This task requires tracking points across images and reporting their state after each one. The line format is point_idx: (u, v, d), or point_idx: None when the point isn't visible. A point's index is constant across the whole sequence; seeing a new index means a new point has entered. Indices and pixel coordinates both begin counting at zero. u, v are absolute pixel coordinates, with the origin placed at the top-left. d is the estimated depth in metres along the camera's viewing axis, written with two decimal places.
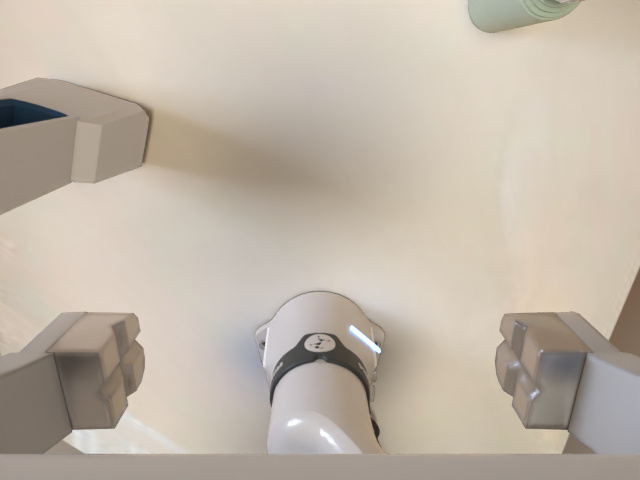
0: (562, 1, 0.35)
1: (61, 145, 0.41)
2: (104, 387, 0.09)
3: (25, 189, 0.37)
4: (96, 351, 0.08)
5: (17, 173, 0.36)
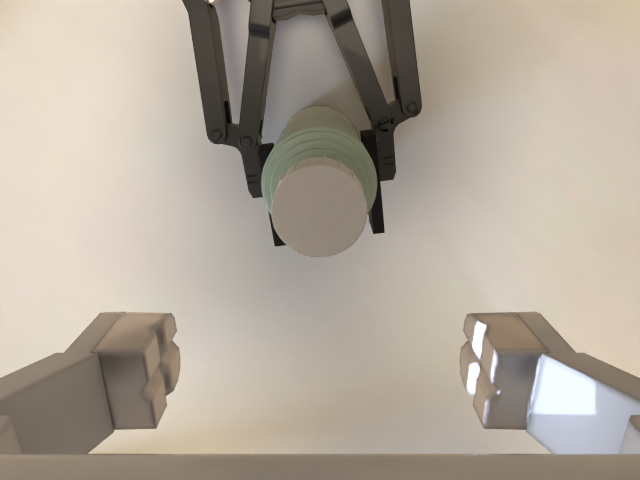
0: None
1: None
2: (146, 387, 0.09)
3: None
4: (141, 351, 0.08)
5: None
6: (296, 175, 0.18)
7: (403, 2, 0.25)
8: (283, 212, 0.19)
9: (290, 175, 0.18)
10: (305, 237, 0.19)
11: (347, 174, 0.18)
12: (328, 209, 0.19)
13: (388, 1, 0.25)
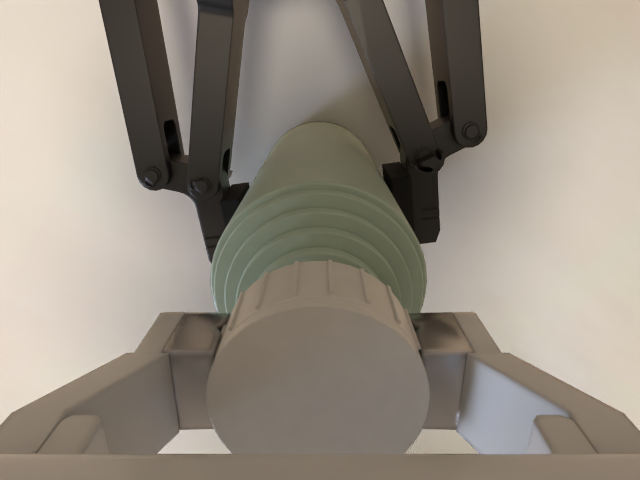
0: None
1: None
2: None
3: None
4: (211, 351, 0.08)
5: None
6: (263, 326, 0.07)
7: None
8: (234, 403, 0.08)
9: (248, 327, 0.08)
10: (287, 450, 0.08)
11: (385, 323, 0.08)
12: (339, 397, 0.08)
13: None
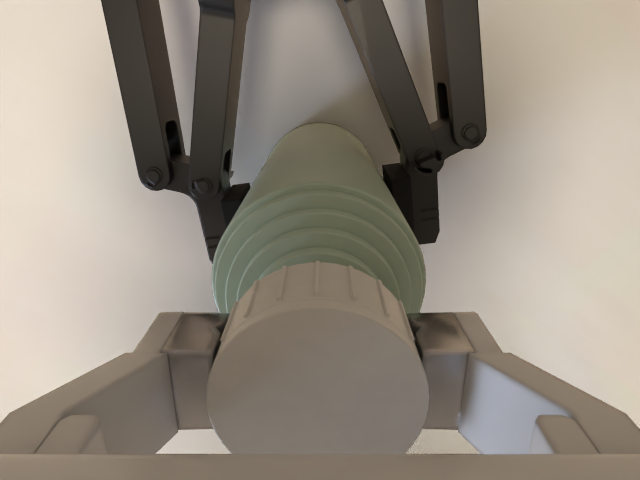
0: None
1: None
2: None
3: None
4: (209, 351, 0.08)
5: None
6: (225, 435, 0.08)
7: None
8: None
9: (226, 445, 0.08)
10: (372, 436, 0.08)
11: (231, 339, 0.08)
12: (311, 388, 0.08)
13: None
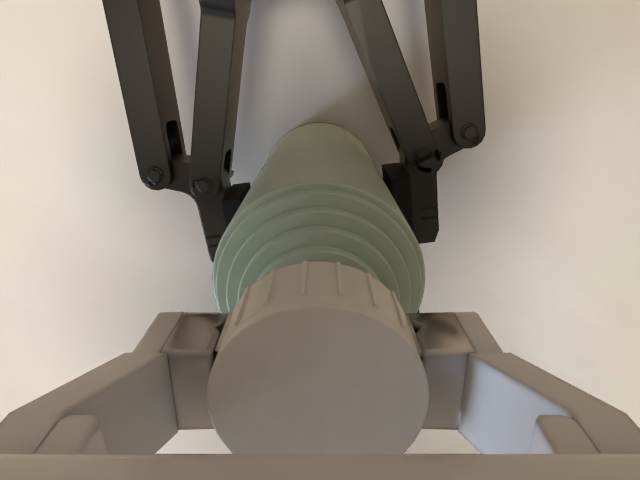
0: (308, 272, 0.09)
1: None
2: None
3: None
4: (209, 351, 0.08)
5: None
6: None
7: None
8: (396, 420, 0.08)
9: None
10: (365, 361, 0.08)
11: None
12: (295, 406, 0.08)
13: None
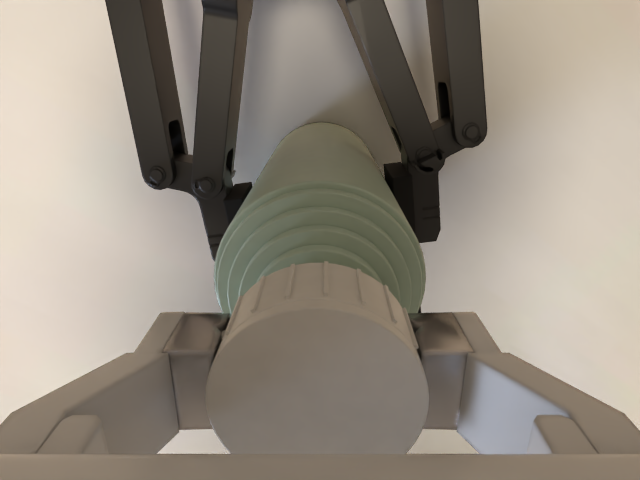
0: None
1: None
2: None
3: None
4: (211, 350, 0.08)
5: None
6: (419, 395, 0.08)
7: None
8: (349, 340, 0.08)
9: (425, 383, 0.08)
10: (270, 361, 0.08)
11: None
12: (316, 424, 0.08)
13: None
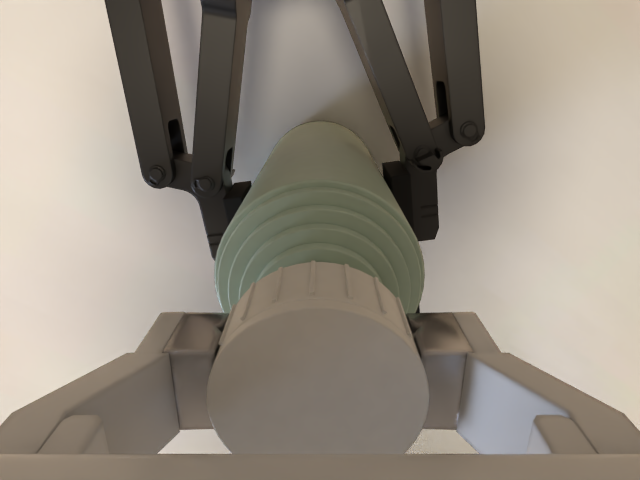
0: None
1: None
2: None
3: None
4: (211, 351, 0.08)
5: None
6: (315, 316, 0.07)
7: None
8: (243, 371, 0.08)
9: (300, 309, 0.07)
10: (262, 434, 0.08)
11: (419, 361, 0.08)
12: (340, 407, 0.08)
13: None
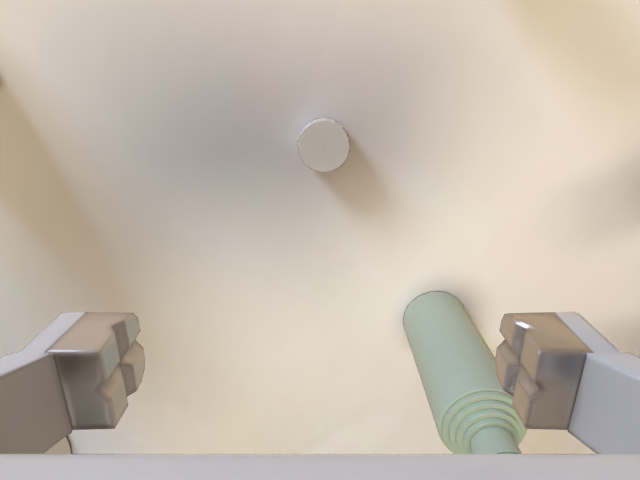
0: None
1: None
2: (104, 387, 0.09)
3: None
4: (97, 351, 0.08)
5: None
6: (300, 145, 0.35)
7: None
8: (313, 162, 0.36)
9: (298, 148, 0.35)
10: (331, 160, 0.36)
11: (314, 122, 0.35)
12: (324, 141, 0.35)
13: None
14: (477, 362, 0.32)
